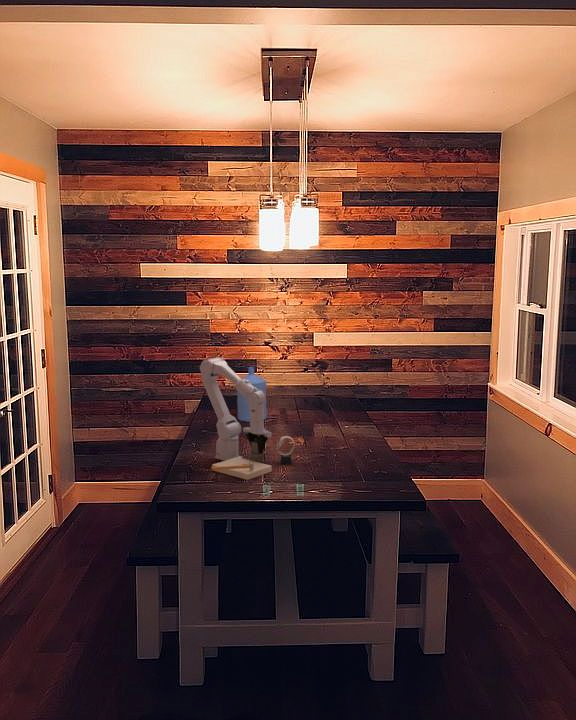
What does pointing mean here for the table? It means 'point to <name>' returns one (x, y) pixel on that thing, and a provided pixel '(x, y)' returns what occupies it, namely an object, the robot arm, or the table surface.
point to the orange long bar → (235, 467)
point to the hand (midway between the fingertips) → (257, 451)
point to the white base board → (243, 472)
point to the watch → (285, 456)
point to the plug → (256, 452)
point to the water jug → (242, 401)
